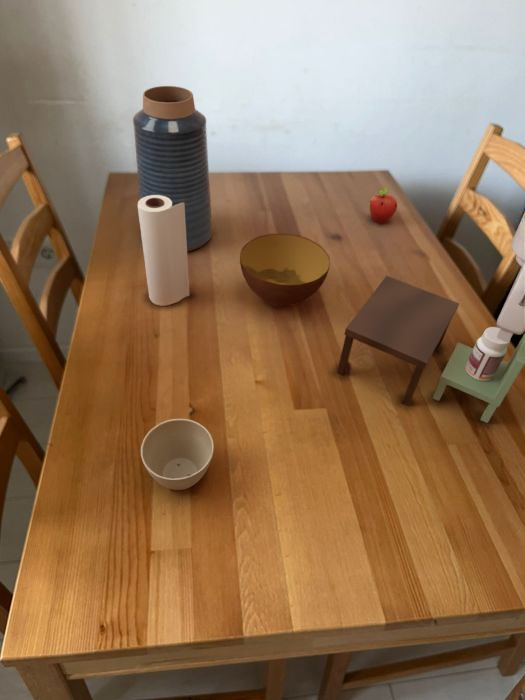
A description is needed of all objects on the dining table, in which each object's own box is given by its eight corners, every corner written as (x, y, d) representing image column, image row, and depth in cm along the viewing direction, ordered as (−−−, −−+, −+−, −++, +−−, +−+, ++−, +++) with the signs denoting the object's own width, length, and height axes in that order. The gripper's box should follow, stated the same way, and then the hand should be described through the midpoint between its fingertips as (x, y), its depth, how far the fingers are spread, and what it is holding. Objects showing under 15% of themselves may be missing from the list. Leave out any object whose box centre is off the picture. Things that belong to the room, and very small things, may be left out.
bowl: (225, 283, 109) (225, 243, 102) (296, 265, 116) (301, 226, 109) (262, 335, 99) (266, 294, 92) (339, 311, 105) (347, 271, 98)
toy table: (440, 347, 99) (459, 303, 91) (408, 407, 88) (426, 363, 80) (374, 319, 104) (386, 275, 96) (335, 373, 93) (345, 328, 85)
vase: (184, 262, 114) (174, 116, 92) (128, 238, 119) (106, 95, 97) (225, 231, 124) (226, 92, 102) (172, 210, 130) (162, 74, 108)
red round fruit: (365, 212, 134) (373, 176, 127) (390, 214, 135) (400, 178, 128) (368, 228, 129) (376, 191, 122) (395, 230, 129) (405, 193, 122)
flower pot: (131, 482, 75) (125, 454, 70) (176, 436, 81) (173, 407, 76) (184, 519, 71) (181, 492, 66) (227, 468, 77) (228, 440, 72)
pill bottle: (496, 368, 87) (516, 332, 81) (489, 386, 84) (510, 349, 78) (468, 357, 89) (486, 321, 83) (461, 374, 86) (479, 337, 80)
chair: (502, 387, 92) (537, 326, 82) (488, 424, 86) (525, 363, 75) (448, 364, 96) (475, 303, 85) (430, 398, 89) (458, 336, 79)
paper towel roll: (143, 300, 104) (130, 204, 89) (160, 284, 108) (151, 190, 93) (172, 312, 102) (164, 216, 87) (189, 296, 106) (184, 201, 91)
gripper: (561, 288, 61) (516, 369, 71) (585, 218, 74) (544, 294, 83) (507, 270, 63) (471, 351, 73) (539, 205, 76) (504, 281, 86)
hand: (510, 320), depth 78 cm, fingers open, 8 cm apart
